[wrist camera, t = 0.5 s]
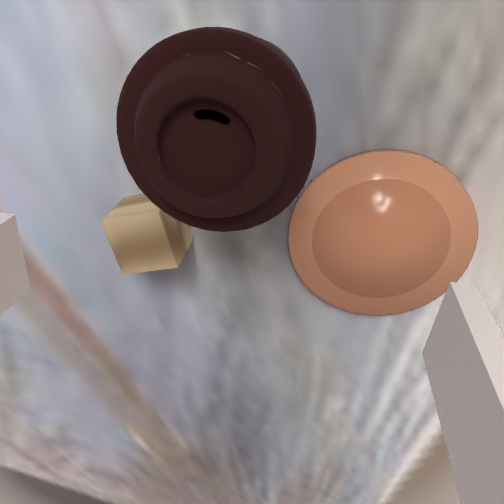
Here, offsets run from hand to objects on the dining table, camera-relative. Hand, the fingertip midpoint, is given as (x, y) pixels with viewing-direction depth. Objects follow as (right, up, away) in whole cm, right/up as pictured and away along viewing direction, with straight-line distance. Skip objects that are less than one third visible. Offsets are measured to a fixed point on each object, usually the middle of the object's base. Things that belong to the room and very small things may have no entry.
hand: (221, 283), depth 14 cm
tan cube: (-7, +4, +26) cm, 28 cm away
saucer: (+12, +2, +24) cm, 27 cm away
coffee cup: (+1, +13, +20) cm, 24 cm away
